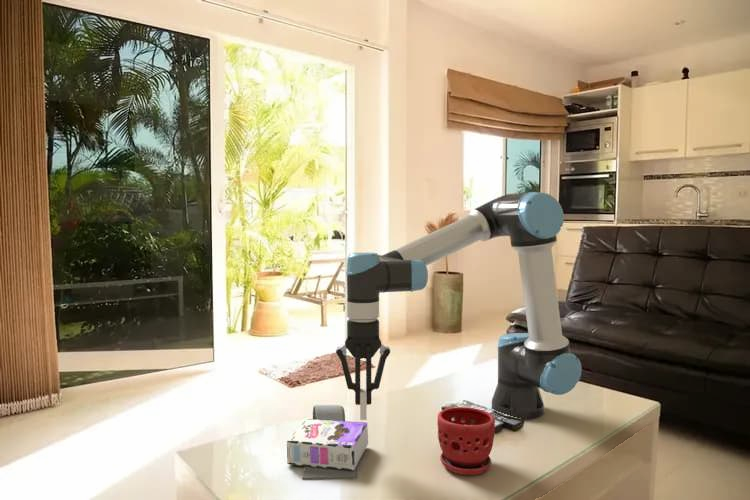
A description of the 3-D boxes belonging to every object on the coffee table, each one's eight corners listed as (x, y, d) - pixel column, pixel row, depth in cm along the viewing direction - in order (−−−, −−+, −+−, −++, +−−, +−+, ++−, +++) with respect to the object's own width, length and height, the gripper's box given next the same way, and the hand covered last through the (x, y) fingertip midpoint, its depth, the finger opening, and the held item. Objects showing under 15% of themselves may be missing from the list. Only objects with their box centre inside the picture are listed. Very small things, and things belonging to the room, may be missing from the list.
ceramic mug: (346, 436, 133) (346, 408, 132) (315, 440, 131) (315, 411, 130) (339, 421, 143) (338, 395, 143) (310, 424, 141) (310, 397, 141)
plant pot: (505, 474, 113) (505, 422, 112) (451, 483, 109) (452, 429, 108) (477, 449, 125) (477, 402, 124) (428, 456, 121) (428, 408, 121)
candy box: (354, 446, 113) (285, 441, 116) (355, 471, 113) (286, 465, 116) (367, 421, 126) (305, 417, 130) (368, 444, 127) (306, 439, 130)
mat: (357, 445, 127) (357, 444, 127) (356, 478, 111) (356, 476, 111) (309, 446, 127) (309, 445, 127) (302, 479, 111) (302, 477, 111)
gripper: (389, 315, 121) (389, 411, 122) (335, 315, 121) (336, 411, 122) (391, 321, 114) (391, 423, 115) (334, 322, 113) (334, 424, 115)
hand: (363, 417), depth 119 cm, fingers closed
